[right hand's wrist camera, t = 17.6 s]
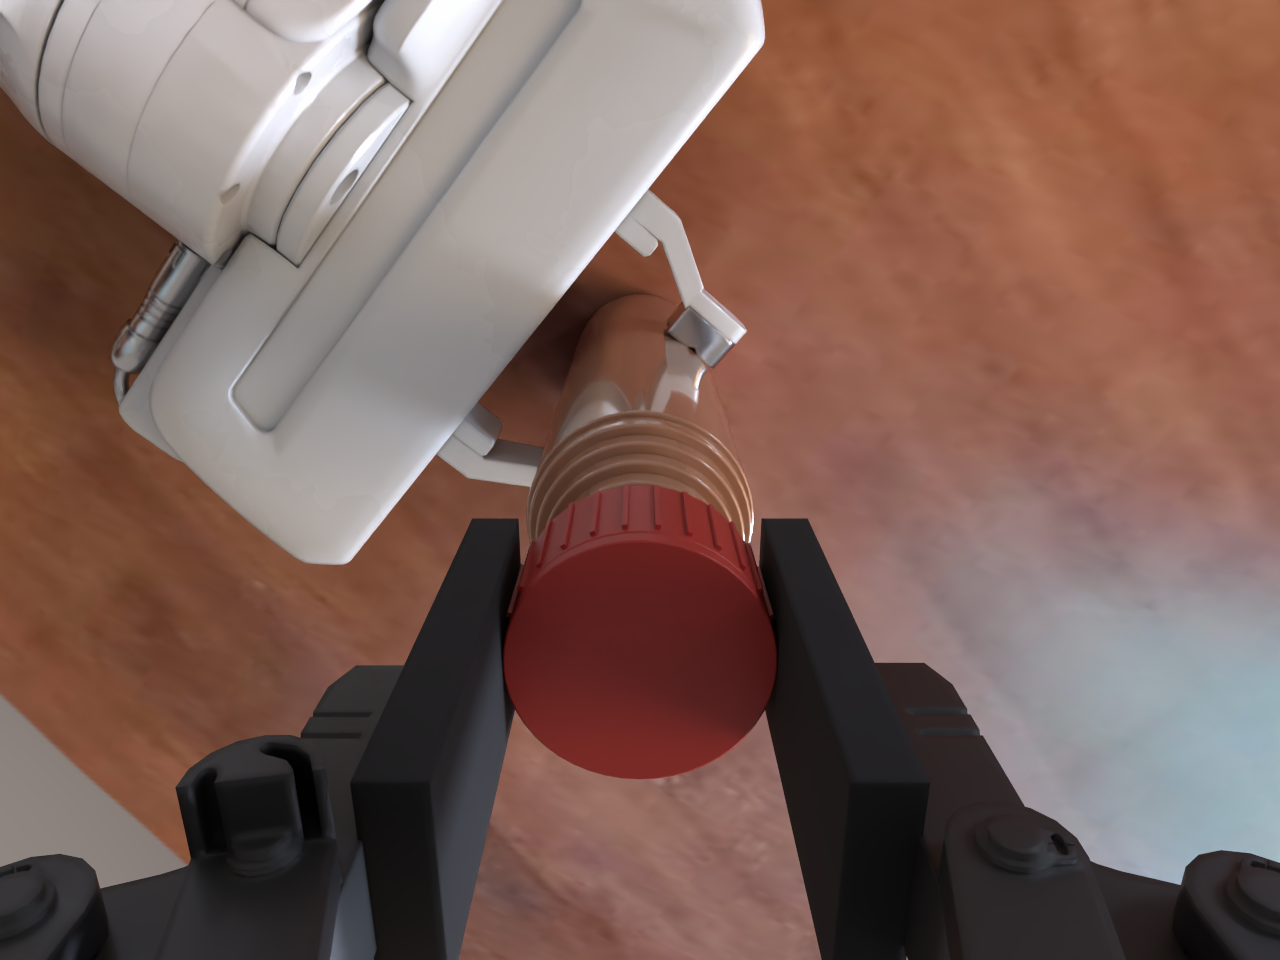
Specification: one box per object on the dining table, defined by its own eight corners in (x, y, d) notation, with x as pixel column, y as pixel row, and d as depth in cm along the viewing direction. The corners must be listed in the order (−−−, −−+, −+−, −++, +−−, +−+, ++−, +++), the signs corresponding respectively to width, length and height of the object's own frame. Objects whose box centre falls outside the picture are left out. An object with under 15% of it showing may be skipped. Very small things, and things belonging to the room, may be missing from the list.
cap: (475, 633, 15) (449, 710, 13) (594, 435, 14) (585, 484, 12) (680, 736, 16) (686, 823, 14) (809, 556, 15) (837, 622, 12)
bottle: (672, 272, 31) (721, 454, 12) (721, 387, 33) (837, 712, 14) (556, 326, 32) (430, 579, 13) (610, 436, 34) (570, 812, 14)
